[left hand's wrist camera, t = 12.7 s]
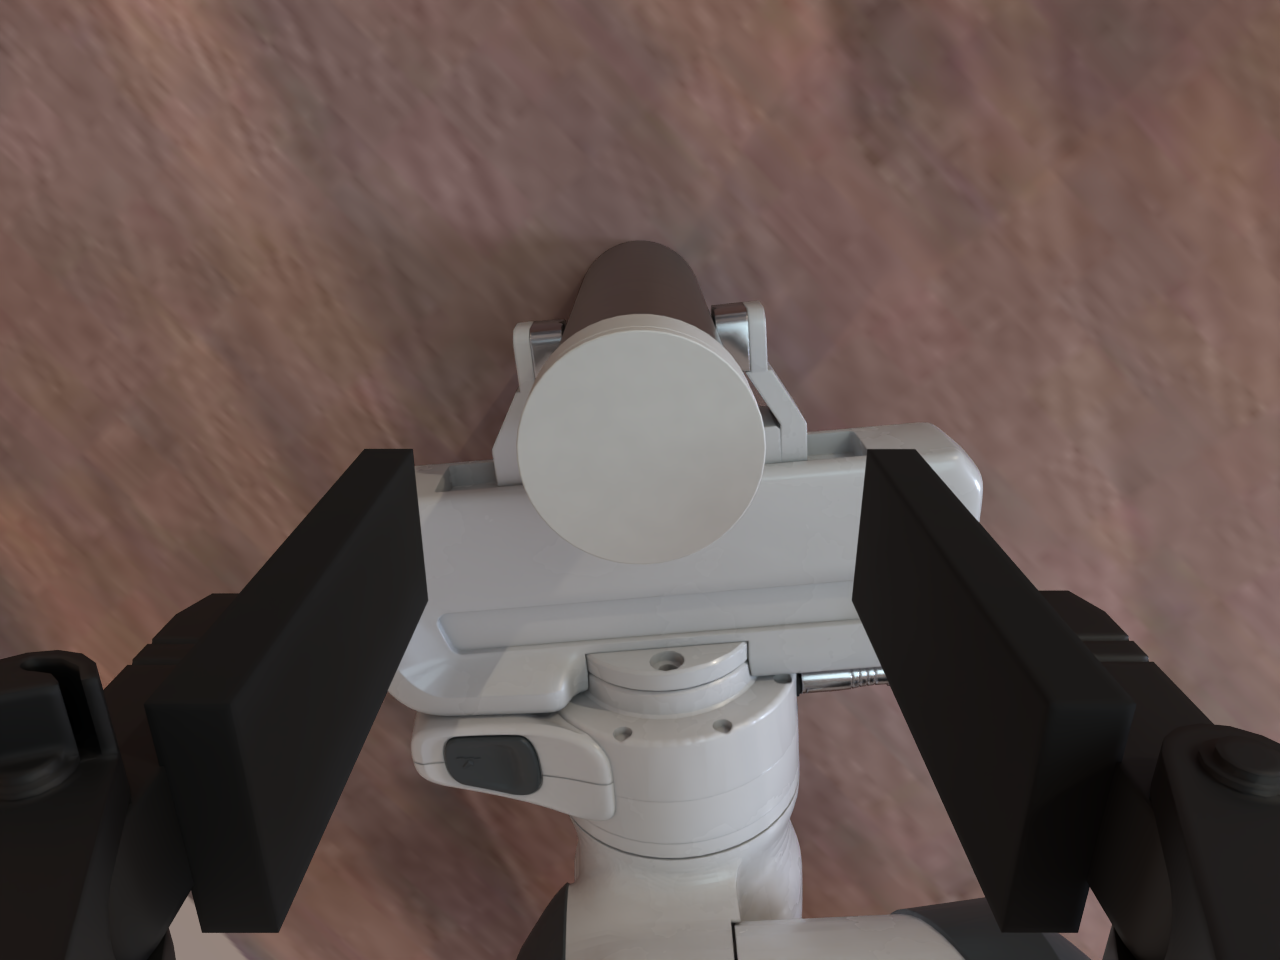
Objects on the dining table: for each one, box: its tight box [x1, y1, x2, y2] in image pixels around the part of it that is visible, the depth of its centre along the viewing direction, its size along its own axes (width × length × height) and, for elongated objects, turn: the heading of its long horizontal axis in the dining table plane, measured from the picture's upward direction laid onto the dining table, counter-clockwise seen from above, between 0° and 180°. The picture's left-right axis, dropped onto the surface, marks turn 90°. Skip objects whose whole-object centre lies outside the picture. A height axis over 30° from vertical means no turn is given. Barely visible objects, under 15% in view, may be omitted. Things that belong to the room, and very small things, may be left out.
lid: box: [516, 314, 766, 564], centre depth 18 cm, size 5×5×2 cm
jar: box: [558, 241, 723, 347], centre depth 25 cm, size 4×4×16 cm
